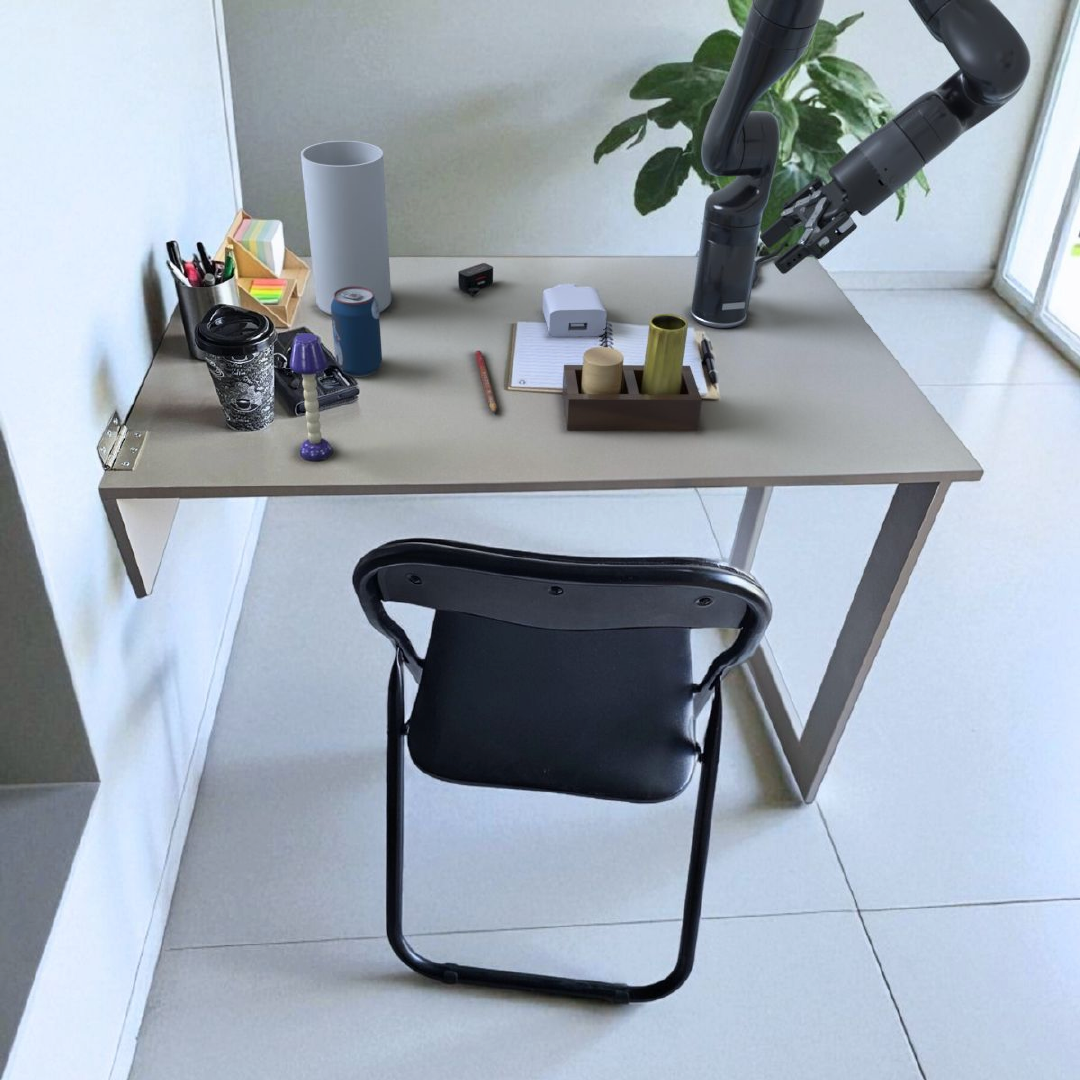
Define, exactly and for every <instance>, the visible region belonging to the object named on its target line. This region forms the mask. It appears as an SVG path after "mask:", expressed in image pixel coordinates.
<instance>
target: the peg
mask: <svg viewBox="0 0 1080 1080" xmlns="http://www.w3.org/2000/svg"><path fill="white" fill-rule="evenodd" d="M624 358H625V357H624V354H623V353H622V352H621V351H619V350H618V349H615V348H612V347H607V346H596V347H591V348H589V349H587V350H585V351H584V353H583V356H582V365H583V369H582V384H581V394H620V391H621V381H622V370H623V365H624Z"/></svg>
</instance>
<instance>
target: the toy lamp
mask: <svg viewBox="0 0 1080 1080" xmlns="http://www.w3.org/2000/svg"><path fill="white" fill-rule="evenodd" d="M327 367H328V361H327V358H326V355H325V352H324V350H323V347H322V344H321V341H320V339H319V337H318V336H317V335H316V334H313V333H301V334H297V335H296V336H295V337H294V339H293V342H292V348H291V352H290V359H289V368H290V370H291V371H292V372H293V373H296V374H299V375H301V377H302V387H303V398H304V408H305V409H304V410H305V419H306V421H307V422H306V429H307V431H308V433H307V439H306V440H304V441H303V442H302V444H301V446H300V449H299V456H300V457H301V458H303V459H304V460H308V461H314V462H315V461H321V460H325V459H327V458H329V457H330V456H331V455H332V453H333V448H332V446H331V444H330V442H329V441H328V440H327V439H325V438H322V437H323V436H322V435H323V434H322V432H321V427H322V425H321V422H320V418H321V413H320V411H319V406H320V404H319V400H318V396H319V395H318V390H317V386H318V383H317V379H316V376H317V374H320V373H322V372H324V371H325V370H326V369H327Z"/></svg>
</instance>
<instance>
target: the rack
mask: <svg viewBox="0 0 1080 1080" xmlns="http://www.w3.org/2000/svg"><path fill="white" fill-rule="evenodd" d="M582 369H583V364H563V372H562V391H561V395H562V403H563V411H564V417H565V424H566V431H650V432H651V431H655V432H656V431H659V432H660V431H661V432H662V431H663V432H665V431H670V432H671V431H672V432H673V431H675V432H676V431H678V432H679V431H680V432H682V431H683V432H685V431H686V432H687V431H688V432H689V431H690V432H691V431H692V432H693V431H694V432H695V431H697V432H698V429H699V421H700V415H701V409H702V402H703V400H702V396H701V394H700V391H699V388H698V385H697V383H696V380H695V376H694V373H693V370H692V367H691V365H683V366H682V375H681V386H680V394H640V392H641V386H642V380H643V372H644V364H642V365H641V364H639V365H637V364H623V370H622V381H621V391H620V394H581V384H582Z"/></svg>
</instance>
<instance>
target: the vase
mask: <svg viewBox="0 0 1080 1080" xmlns="http://www.w3.org/2000/svg"><path fill="white" fill-rule="evenodd" d="M688 328H689V323H688V320H686V318H684V317H683V316H680V315H677V314H672V313H661V314H656V315H653V316H652V317H651V318H650V320H649V323H648V334H647V342H646V349H645V356H644V357H645V358H644V364H643V365H644V372H643V380H642V386H641V392H640V394H680V386H681V375H682V366H684V359H685V358H684V357H685V351H686V344H687V336H688Z"/></svg>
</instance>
